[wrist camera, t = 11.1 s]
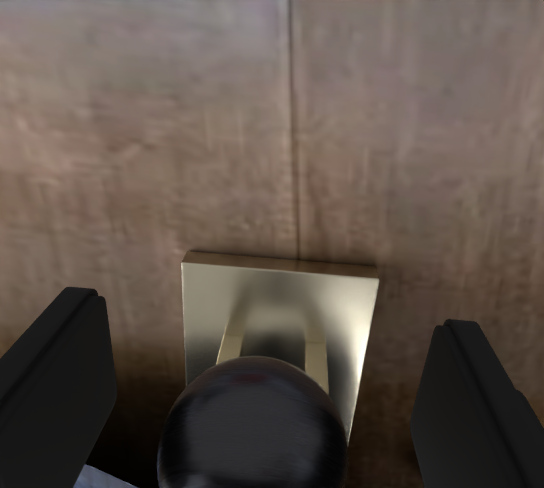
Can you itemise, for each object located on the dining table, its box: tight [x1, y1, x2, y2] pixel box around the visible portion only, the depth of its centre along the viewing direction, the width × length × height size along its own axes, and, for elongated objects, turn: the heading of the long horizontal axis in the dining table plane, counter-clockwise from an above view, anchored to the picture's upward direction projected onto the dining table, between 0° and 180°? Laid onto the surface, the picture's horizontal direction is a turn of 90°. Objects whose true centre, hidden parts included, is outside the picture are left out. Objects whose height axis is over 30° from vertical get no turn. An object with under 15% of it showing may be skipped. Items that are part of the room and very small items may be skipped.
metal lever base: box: [181, 251, 380, 445], centre depth 19 cm, size 12×9×12 cm
